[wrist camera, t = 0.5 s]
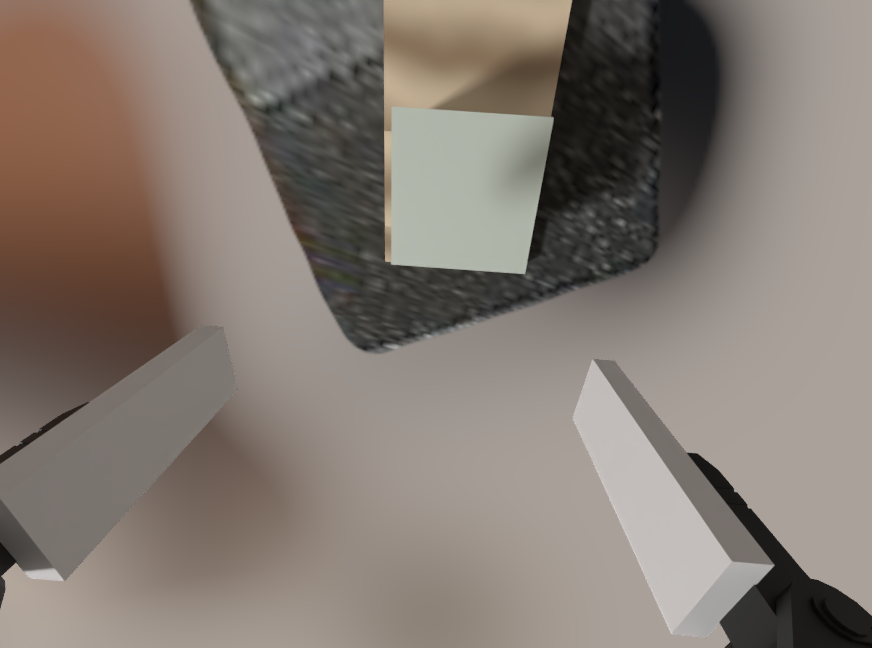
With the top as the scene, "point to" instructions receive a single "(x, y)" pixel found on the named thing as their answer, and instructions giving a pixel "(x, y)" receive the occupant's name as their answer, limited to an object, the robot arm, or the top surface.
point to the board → (470, 60)
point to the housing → (465, 188)
